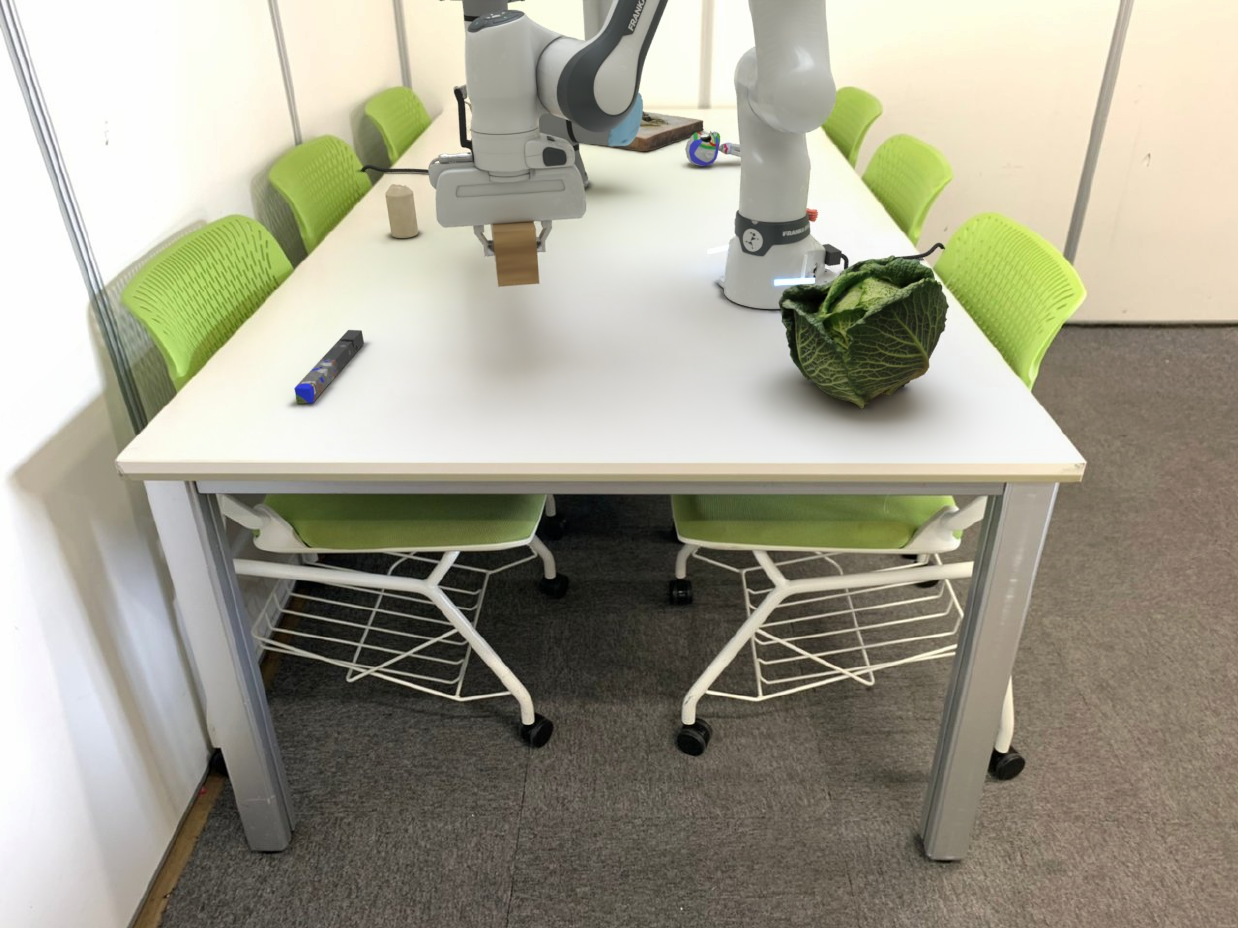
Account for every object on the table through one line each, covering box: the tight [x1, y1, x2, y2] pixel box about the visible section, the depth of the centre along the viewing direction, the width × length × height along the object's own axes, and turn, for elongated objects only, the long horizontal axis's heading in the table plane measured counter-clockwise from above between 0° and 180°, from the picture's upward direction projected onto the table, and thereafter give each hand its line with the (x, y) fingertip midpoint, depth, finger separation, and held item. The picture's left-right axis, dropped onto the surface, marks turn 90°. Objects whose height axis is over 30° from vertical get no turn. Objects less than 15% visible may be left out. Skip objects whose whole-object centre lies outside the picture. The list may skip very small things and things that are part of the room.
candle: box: [384, 183, 419, 239], centre depth 183 cm, size 6×6×10 cm
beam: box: [490, 221, 540, 288], centre depth 144 cm, size 56×6×8 cm, turn 9°
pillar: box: [294, 329, 365, 404], centre depth 131 cm, size 2×2×20 cm
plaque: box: [604, 110, 705, 152], centre depth 257 cm, size 30×7×30 cm
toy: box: [684, 130, 741, 167], centre depth 229 cm, size 10×8×30 cm
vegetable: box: [779, 254, 950, 410], centre depth 120 cm, size 20×19×20 cm
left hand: (500, 184), depth 165 cm, fingers closed on beam, 6 cm apart
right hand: (515, 253), depth 125 cm, fingers closed on beam, 5 cm apart
